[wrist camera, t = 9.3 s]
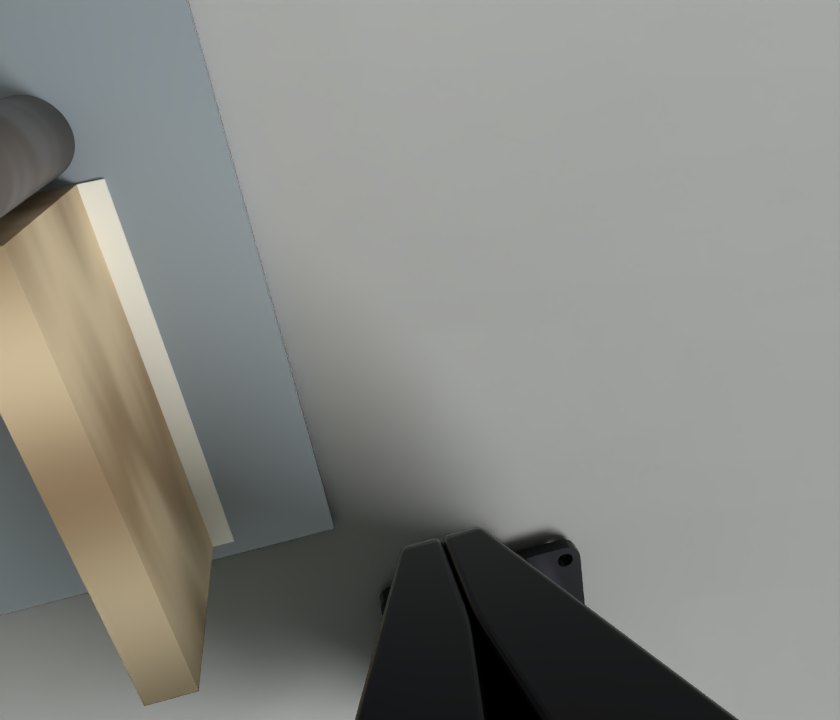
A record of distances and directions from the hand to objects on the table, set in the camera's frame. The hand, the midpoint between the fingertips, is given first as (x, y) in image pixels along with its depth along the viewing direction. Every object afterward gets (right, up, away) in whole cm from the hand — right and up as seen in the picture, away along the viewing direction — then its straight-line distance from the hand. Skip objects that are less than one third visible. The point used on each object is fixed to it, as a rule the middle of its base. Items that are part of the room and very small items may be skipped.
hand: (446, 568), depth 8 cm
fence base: (-8, +2, +11) cm, 13 cm away
